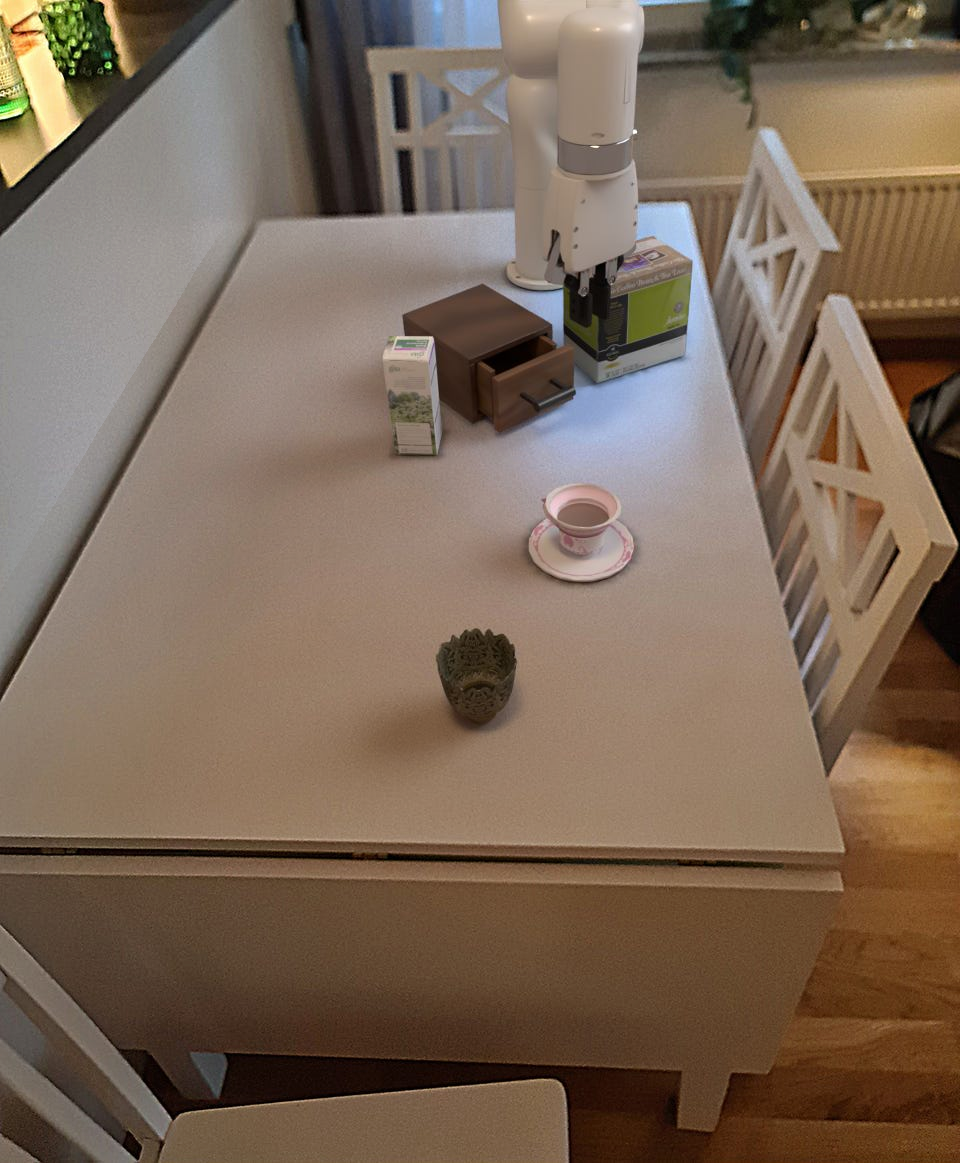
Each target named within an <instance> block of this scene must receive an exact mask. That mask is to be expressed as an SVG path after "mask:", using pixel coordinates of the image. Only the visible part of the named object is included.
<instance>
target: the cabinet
mask: <svg viewBox="0 0 960 1163" xmlns="http://www.w3.org/2000/svg"><path fill="white" fill-rule="evenodd" d="M401 316H402V325H403V334H404V335H403V336H433V338H434V345H435V355H436V368H437V381H438V392H439V401H442V402H443V403H444V404H446V405H447V406H448V407H450V408H451V409H452V410H453V411H455V412H457V414H459V415H460V416H462V417H463V418H465V419H466V420H467V421H468V422H470V424H476V423H478V422H480V421H483V420H484V419H488V417H487V416H486V415H485V414H483V413H482V412H481V411H479V410H478V409H477V394H476V378H475V364H474V363H476V362H479V361H481V360H484V359H486V358H488V357H491V356H493V355H495V354H498V353H500V352H502V351H505V350H507V349H509V348H512V347H514V346H516V345H519V344H521V343H523V342H526V341H528V340H530V339H533V338H535V337H537V336H540V335H544V336H545V337H547V338H549V339H550V340H552V341H554V340H553V339H554V334H553V333H554V331H553V330H554V329H553V328H554V327H553V326H554V325H553V323H551V322H550V321H548V320H546V319H544V318H543V317H541V316H539V315H537V314H536V313H534V312H533V311H531V310H529V309H527V308H526V307H525V306H522V305H520V304H519V303H517V302H515V301H513V300H512V299H510V298H508V297H507V296H505V295H503V294H502V293H500V292H499V291H496V290H495V289H493V288H491V287H490V286H488V285H486V284H485V283H480V284H478V285H475V286H472V287H470V288H466V289H464V290H462V291H460V292H457V293H454V294H451V295H449V296H447V297H444V298H441V299H439V300H436V301H434V302H431V303H428V304H426V305H423V306H420V307H418V308H416V309H412V310H410V311H407V312H405V313H403V314H401Z"/></svg>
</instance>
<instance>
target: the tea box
mask: <svg viewBox="0 0 960 1163" xmlns="http://www.w3.org/2000/svg"><path fill="white" fill-rule="evenodd" d="M635 243H636V250H635V251H634V252H633V253H632V254H631V255H630V256H629V257H628V258H627V259H626V260H624V262H623V264H622V265H621V267H620V268H619V270H618V272H617V278H616V282H615V283H614V284H613V285H611V298H610V317H609V319H606V320H603V319H601V318H599V317H597V316H595V315H593V314H592V324H591V326H590V327H588V328H585V327H583V326H581V325H579V324H578V323H576V322H574V321H572V320H571V319H570V317H569V298H570V290H569V289H567V288H566V287H565V286H564V285H563V288H562V293H563V294H562V309H563V310H562V311H563V312H562V313H563V315H562V323H563V324H562V330H563V331H562V332H563V333H562V334H563V337H562V338H563V346H565V345H567V344H570V345H572V346H573V347H575V348H574V365H575V366H577V367H578V368H579V369H580V370H581V371H583V373H585V375H587V376H588V377H589V378H590V379H592V381H594V382H595V383H596V384H599V383H602V382H605V381H608V380H612V379H615V378H619V377H620V376H624V375H627V374H630V373H634V372H636V371H639V370H643V369H646V368H649V367H652V366H655V365H659V364H662V363H665V362H668V361H670V360H673V359H678V358H680V357H684V356H685V355H686V351H687V350H686V348H687V339H688V325H689V316H690V303H691V289H692V276H693V264H694V262H693V259H691V258H689V257H688V256H685V255H684V254H682V253H681V252H680V251H678V250H676V249H674V248H673V247H672V246H670V245H668V244H667V243H665V242H663V241H662V240H660V239H659V238H657V237H655V235H651V236H647V237H643V238H640V239H636V241H635ZM563 270H564V271H565V264H564V267H563ZM591 277H593V275H592V267H590V269H589V278H591ZM576 278H577V279H578V273H576Z"/></svg>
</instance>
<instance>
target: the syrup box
mask: <svg viewBox="0 0 960 1163" xmlns="http://www.w3.org/2000/svg"><path fill="white" fill-rule="evenodd" d="M386 341H387V342H386V344H385V347H384V349H383V353H382V357H381V362H382V363H381V364H382V368H383V369H382V370H383V376H384V384H385V389H386V398H387V405H388V413H389V420H390V424H391V425H390V427H391V434H392V440H393V448H394V454H395V455H396V456H398V455H399V456H437V455H438V453H439V448H440V444H441V440H442V435H443V422H442V417H441V416H442V415H441V414H442V413H441V406H440V405H441V404H440V399H439V392H438V381H437V368H436V355H435V345H434V338H433V336H405V335H391V336H390V335H389V336H388V339H387V340H386Z"/></svg>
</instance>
